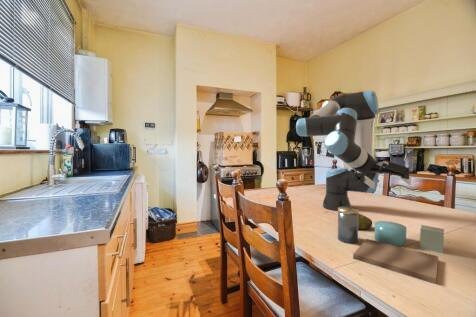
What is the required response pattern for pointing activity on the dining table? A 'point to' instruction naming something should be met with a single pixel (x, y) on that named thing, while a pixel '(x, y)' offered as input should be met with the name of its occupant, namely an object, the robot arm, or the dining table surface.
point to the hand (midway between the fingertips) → (390, 183)
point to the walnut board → (398, 259)
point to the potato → (364, 222)
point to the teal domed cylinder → (390, 233)
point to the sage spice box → (431, 238)
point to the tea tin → (348, 224)
